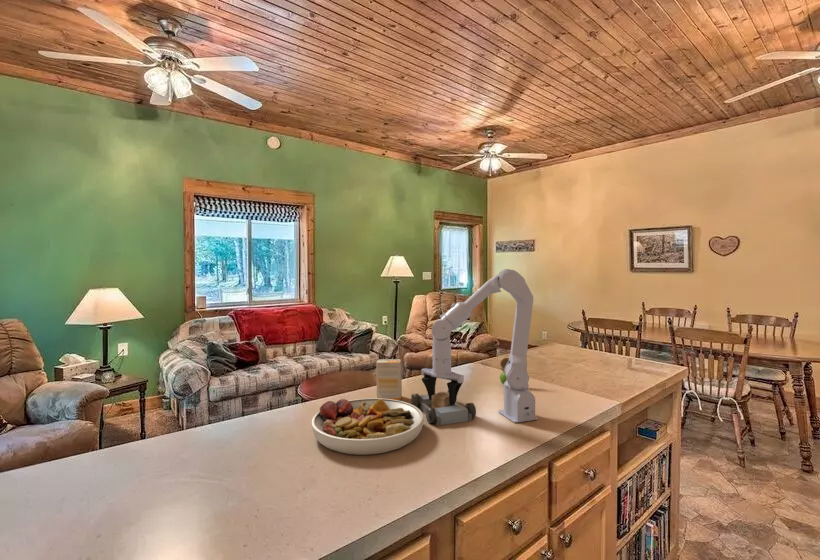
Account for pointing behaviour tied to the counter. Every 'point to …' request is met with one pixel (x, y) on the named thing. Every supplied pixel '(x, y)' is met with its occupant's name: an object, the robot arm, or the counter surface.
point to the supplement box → (389, 379)
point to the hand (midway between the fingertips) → (442, 401)
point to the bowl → (366, 425)
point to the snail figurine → (503, 364)
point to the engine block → (440, 400)
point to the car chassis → (444, 411)
